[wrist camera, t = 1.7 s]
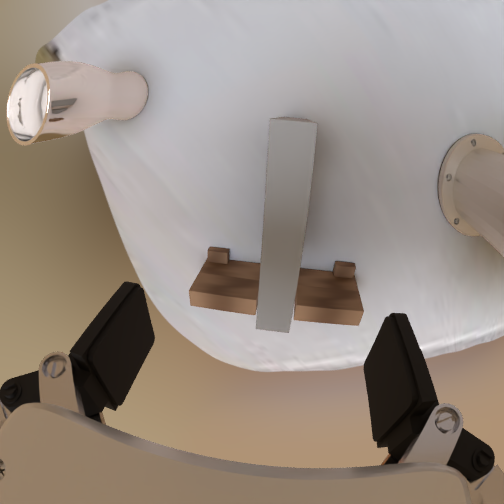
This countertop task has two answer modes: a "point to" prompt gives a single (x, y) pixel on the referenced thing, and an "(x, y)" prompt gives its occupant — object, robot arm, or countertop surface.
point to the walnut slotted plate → (307, 294)
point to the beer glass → (70, 99)
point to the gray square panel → (284, 218)
